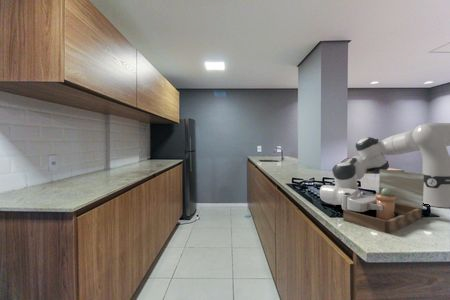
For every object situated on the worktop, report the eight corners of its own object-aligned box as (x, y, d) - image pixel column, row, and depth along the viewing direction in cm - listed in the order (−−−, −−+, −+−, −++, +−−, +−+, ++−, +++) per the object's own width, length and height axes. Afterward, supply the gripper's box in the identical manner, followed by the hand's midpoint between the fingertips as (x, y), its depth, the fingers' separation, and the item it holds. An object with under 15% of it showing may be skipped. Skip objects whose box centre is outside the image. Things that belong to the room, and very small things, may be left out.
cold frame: (379, 208, 116) (380, 169, 114) (422, 217, 102) (424, 173, 101) (343, 220, 100) (344, 175, 99) (388, 233, 86) (390, 181, 85)
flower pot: (380, 216, 105) (381, 185, 104) (398, 220, 99) (399, 188, 98) (371, 219, 101) (372, 187, 100) (390, 224, 95) (391, 190, 94)
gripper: (365, 202, 116) (399, 210, 105) (340, 210, 105) (374, 219, 94) (366, 189, 116) (400, 195, 104) (340, 195, 105) (375, 202, 93)
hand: (387, 206), depth 99 cm, fingers closed on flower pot, 6 cm apart
